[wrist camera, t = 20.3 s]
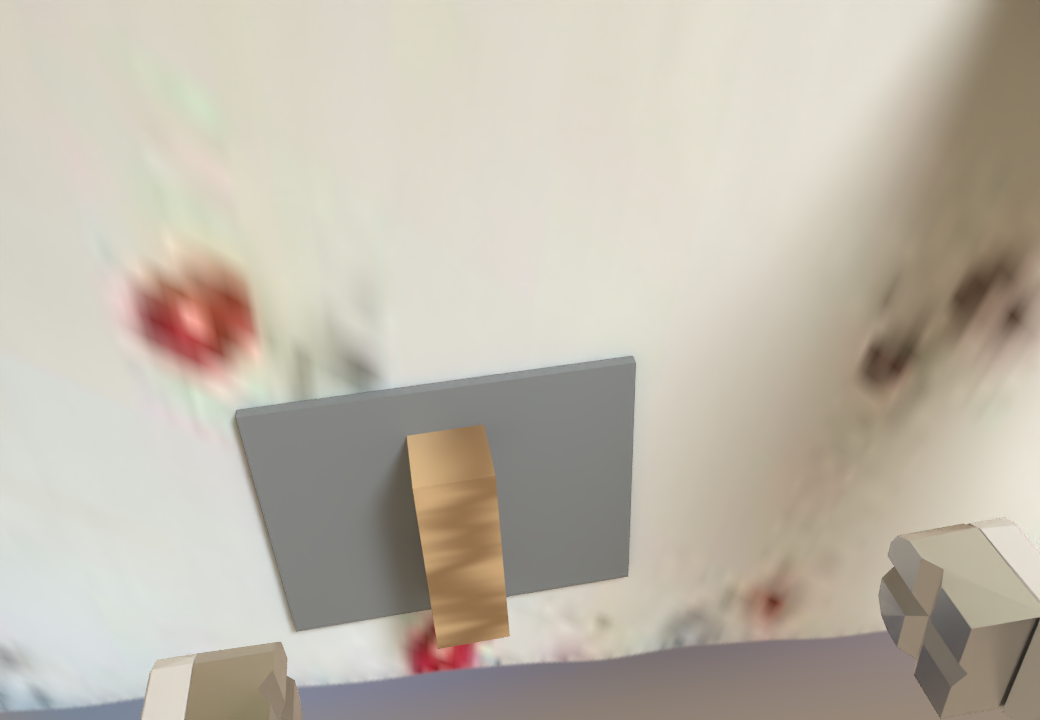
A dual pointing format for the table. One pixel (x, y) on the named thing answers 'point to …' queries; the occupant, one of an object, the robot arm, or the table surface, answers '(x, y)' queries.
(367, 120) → the table surface
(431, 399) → the slate mat
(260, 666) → the robot arm
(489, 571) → the oak post
